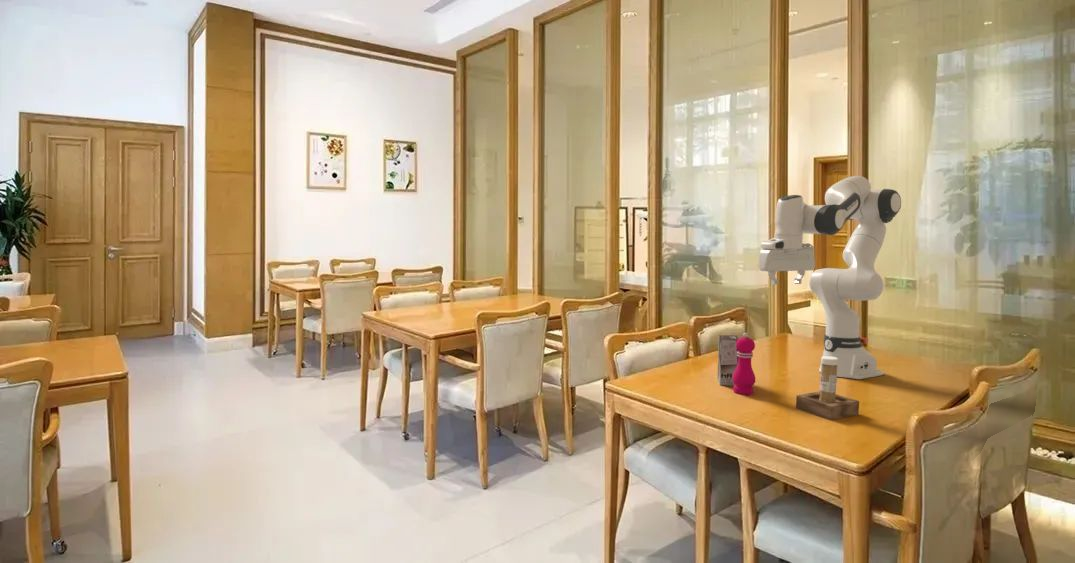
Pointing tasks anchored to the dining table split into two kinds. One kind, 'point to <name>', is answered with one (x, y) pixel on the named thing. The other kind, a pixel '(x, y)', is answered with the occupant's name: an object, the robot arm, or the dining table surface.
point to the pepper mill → (744, 366)
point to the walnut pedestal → (827, 406)
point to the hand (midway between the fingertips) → (786, 284)
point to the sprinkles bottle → (828, 379)
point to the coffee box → (727, 359)
